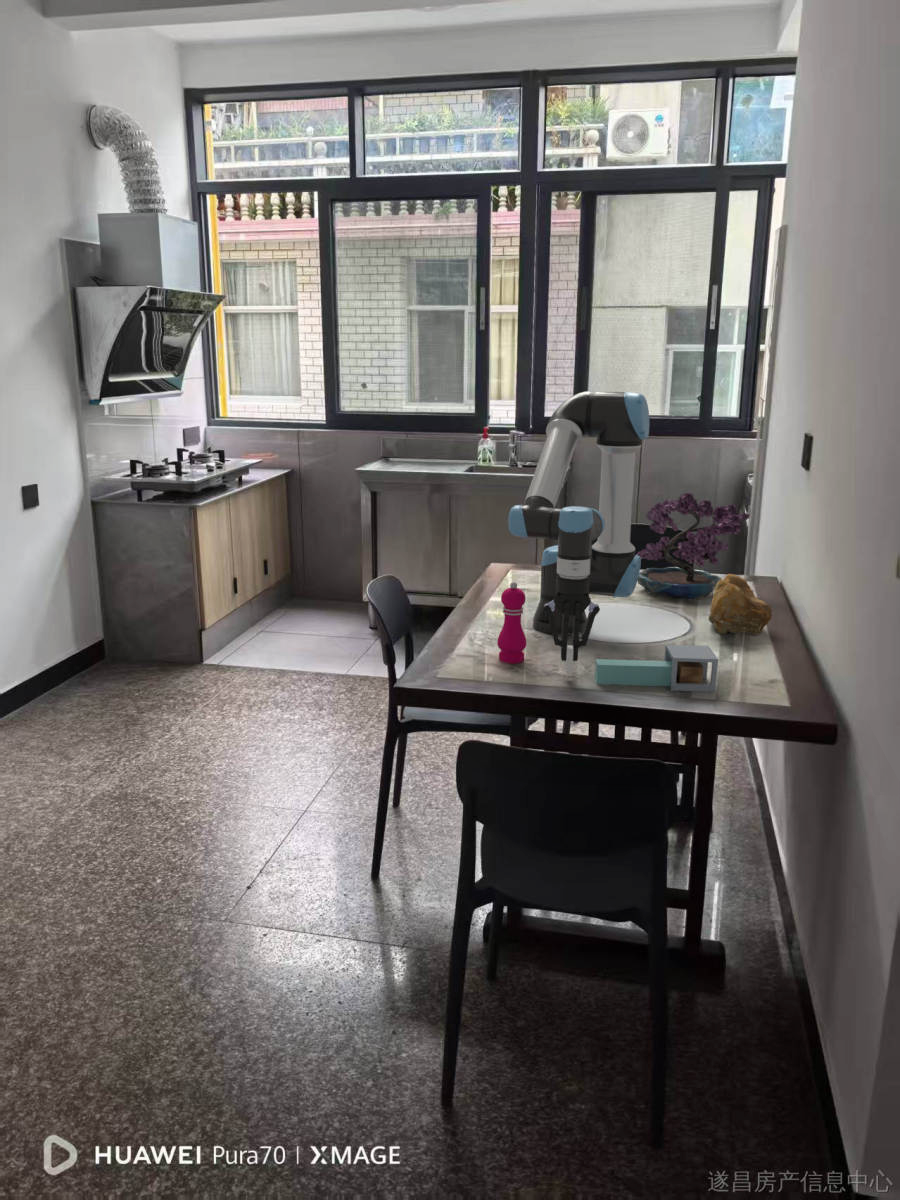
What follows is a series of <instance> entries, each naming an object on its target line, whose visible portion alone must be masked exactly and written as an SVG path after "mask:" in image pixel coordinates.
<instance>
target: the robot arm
mask: <svg viewBox="0 0 900 1200" xmlns="http://www.w3.org/2000/svg"><path fill="white" fill-rule="evenodd" d="M545 433H546V440H545V442H544V445H543V449H542V451H541V454H540V457H539V459H538V462H537V465H536V469H535V471H534V473H533V476H532V480H531V483H530V486H529V488H528V491H527V494H526V497H525V499H524V501H523V502H524V503H523V504H518V505H517V504H515V505H513V506H512V507H511V508H510V511H509V514H508V521H507V522H508V530H509V533H510V534H511V535H512V536H515V537H519V538H525V539H529V538H530V539H543V540H544V539H545V540H554V541H557V545H552V546H549V547H546V548H545V549H544V550H543V552H542V556H541V563H540V567H541V570H540V596H539V597H540V599H539V602H538V604H537V607H536V610H535V612H534V615H533V618H532V619H533V620H532V626H533V628H534V629H535V630H537V631H540V632H543V633H546V634H552V638H553V644H554V645H555V646H559V647H560V648H561V649H560V650H561V651H560V659H561V661H563V662H565V664H564V673H565V676H568V677H569V676H570V677H572V676H573V670H574V669H573V667H574V665H573V664H574V662H577V661H578V659H579V649H580V647H586V646H587V644H588V640H589V637H590V635H591V631H592V628H593V625H594V621H595V617H596V616H597V615H598V614H599V612H600V611H601V609H600V606H599V604H597V603H594V602H593V601H591V600H592V599H591V597H590V595H595V596H605V597H612V598H628V597H631V596H632V595H633V593H634V591H635V590H636V586H637V584H638V581H637V580H638V576H639V573H640V572H641V571H640V570H641V566H642V564H641V563H642V559H641V557H640V556H638V555H636V547H635V546H634V544H633V543H631V532H632V528H631V527H632V513H633V496H634V495H633V494H634V479H635V478H634V477H635V464H636V463H635V462H636V452H637V451H638V450H640V448H641V447H642V444H643V441H644V440H646V439H648V438H649V435H650V413H649V405H648V401H647V399H646V397H645V395H643V394H642V393H639V392H630V391H592V390H589V391H588V390H587V391H582V392H579V393H576V394H573V395H572V396H570V397H569V398H566V400H565V401H563V402H562V403H561V404H559V406H558V407H557V408H556V409H555V410H554V412H553V413H552V415H551V416H550V418H549V420H548V423H547V426H546V428H545ZM587 437H588V438H596V446H597V447H598V448H599V450H600V451H601V461H600V463H601V464H600V465H601V466H600V484H599V485H600V486H599V505H598V507H599V509H598V510H597V509H595V508H593V507H586V506H577V505H576V506H575V505H574V506H565V507H563V508H558V507H556V505H557V503H558V499H559V496H560V493H561V490H562V488H563V484H564V481H565V478H566V474H567V473H568V470H569V466H570V464H571V460H572V457H573V454H574V451H575V448H576V446H578V445H579V444H580V443H581V441H582V439H583V438H587ZM595 540H597V541H595ZM593 541H595V542H594V543H592V542H593ZM586 609H588V615H586ZM580 633H582V635H581V636H580ZM559 635H561V638H559ZM569 635H572V645H569V644H568V638H569V637H568V636H569ZM580 637H581V638H580Z"/></svg>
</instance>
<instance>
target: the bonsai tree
mask: <svg viewBox="0 0 900 1200" xmlns="http://www.w3.org/2000/svg"><path fill="white" fill-rule="evenodd" d="M678 498H679V499H676V500H674V499H673V500H669V499H665V500H664V501H663V502H657V503H656V504H655V505H654V506H653V507H651V508H650V511H647V513H646V519H648V521H649V520H650V521H651V522H652V523H651V524H650V525H649V529H650V530H652V531H653V532H655V533H656V534H658V533H659V534H660V535H662V534H665V532H666V531H667V525H668V526H669V527H671V529H672V530H673V531H675V532H676V531H678V530H679V527H678V526H677V524H676V523H675V521H674V519H673V518H672V517H670V516H669V515H671V514H672V512H679V515H681V514H682V515H683V516H684V515H685V516H687V515H690V514H691V515H692V516H693V517H694V518H695V519H696V521H695V522H694V523H693V524H691V525H690V526H689V527H687V528H686V529H684V530H682V531H681V532H679V533H678V534H676V535H675V536H673V538H671V539H670V537H669V536H667V535H666V536H661V537H660V538H659V541H656V542H655V543H653V542H651V543H649V542H648V543H646V545H645V548H642V549H641V550H639V551H637V553H635V555H638V556H640V557H641V560H643V559H645V560H648V561H651V560H653V561H658V560H659V561H660V560H661V561H662V560H664V559H665V560H666V561H667V562H668V563H669V564H671V565H673V566H667V567H663V568H659V567H658V568H657V567H647V568H646V569H644V570H642V572H641V571H640V572H639V576H638V580H637V584H638V585H640V586H641V587H643V588H644V590H645V592H647V593H649V594H652V595H654V596H659V597H663V598H669V599H678V600H679V599H680V600H681V599H682V600H685V599H689V600H692V599H701V598H702V599H703V598H706V597H708V596H710V595H711V593H714V589H715V586H716V584H717V582H718V581H719V580H722V578H721V577H720V576H719V575H715V574H714V575H713V574H711V573H710V572H708V571H706V570H702V569H694V568H693V567H692V565H693V563H695V564H696V566H697V565H698V566H699V567H700V568H703V567H704V566H705V561H708V560H709V561H708V562H709V563H710V564H711V565H719V564H720V563H719V558H718V557H716V555H717V554H718V553H719V551H721V552H724V551H728V550H729V548H730V547H729V546H730V545H729V544H728V543H727V541H723V540H719V539H717V538H716V536H727V535H728V536H730V535H733V534H734V535H738V533H741V530H742V524H741V523H742V522H744V521H747V520H748V519H749V518H750V516H751V515H750V514H749V513H743V512H740V513H739V510H738V508H737V507H738V506H737V505H736V504H727V505H722V506H716V507H715V508H714V507H713V506H712V501H711V500H706V499H703V500H702V499H701V501H699V503H698V502H697V501H698V499H695V497H694V494H693V493H691V492H690V493H689V492H683V493H682V494H681V495H680V496H678ZM703 517H706V518H710V517H711V518H712V523H711V525H706V526H705V527H704V526H703V527H698V526H699V525H700V522H701V519H703ZM694 532H696V533H694ZM679 540H682V542H681V541H679ZM678 541H679V542H678ZM676 542H678V543H677V546H676V545H674V544H676ZM671 550H674V551H673V553H672V555H670V553H671V552H670V551H671ZM672 556H673V557H672ZM674 557H675V558H674ZM679 558H680V560H683V561H685V562H686V563H685V562H682V561H680V560H679ZM687 562H688V563H689V564H687Z"/></svg>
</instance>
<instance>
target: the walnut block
mask: <svg viewBox="0 0 900 1200" xmlns="http://www.w3.org/2000/svg"><path fill="white" fill-rule="evenodd" d="M703 680H704V678H703V666H702V665H701V663H700V662H680V661H678V663H677V675H676V683H696V684H703Z"/></svg>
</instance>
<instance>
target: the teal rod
mask: <svg viewBox="0 0 900 1200" xmlns="http://www.w3.org/2000/svg"><path fill="white" fill-rule="evenodd" d="M594 668H595V669H594V670H595V671H594V680H595V684H596V683H597V684H596V685H609V684H620V685H619V686H653V687H656V686H657V687H670V683H671V670H672V661H664V660H640V659H639V660H637V659H636V660H635V659H633V660H632V659H607V658H606V659H602V658H601V659H600V658H598V659H595V666H594Z"/></svg>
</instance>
